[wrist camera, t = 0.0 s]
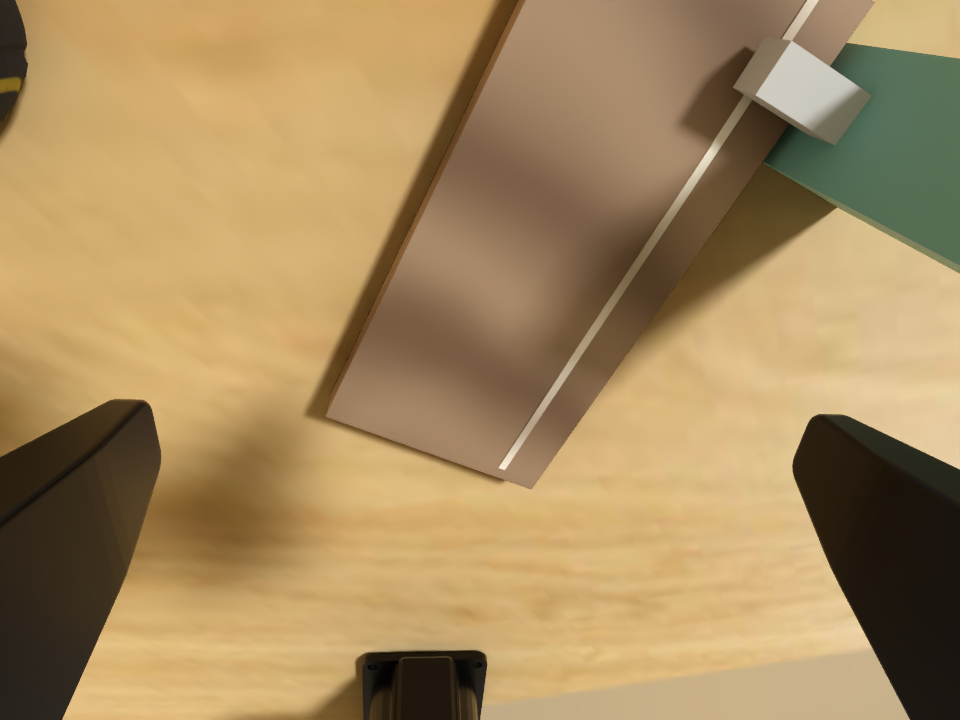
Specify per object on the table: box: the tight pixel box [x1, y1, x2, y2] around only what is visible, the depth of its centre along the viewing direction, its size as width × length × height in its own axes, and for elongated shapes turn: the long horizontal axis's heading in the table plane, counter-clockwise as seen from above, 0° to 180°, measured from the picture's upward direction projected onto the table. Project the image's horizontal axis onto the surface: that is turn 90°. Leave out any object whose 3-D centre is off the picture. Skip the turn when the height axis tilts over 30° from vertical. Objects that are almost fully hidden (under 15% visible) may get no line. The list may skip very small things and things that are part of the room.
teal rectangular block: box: [733, 37, 960, 273], centre depth 16 cm, size 4×7×13 cm, turn 63°
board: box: [326, 0, 875, 489], centre depth 22 cm, size 20×9×2 cm, turn 152°
